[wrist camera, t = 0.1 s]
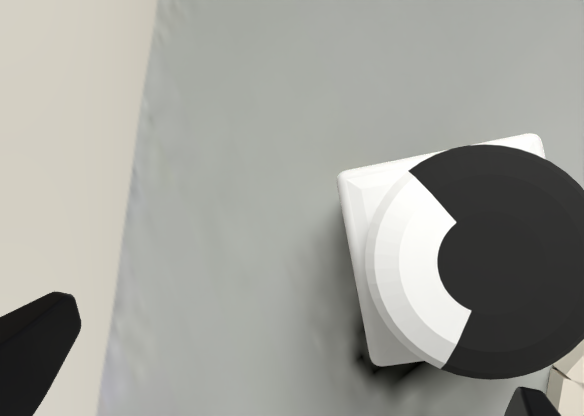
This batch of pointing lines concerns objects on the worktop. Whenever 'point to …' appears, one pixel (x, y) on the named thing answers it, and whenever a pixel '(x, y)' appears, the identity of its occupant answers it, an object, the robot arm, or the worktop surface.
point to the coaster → (568, 383)
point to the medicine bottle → (468, 258)
